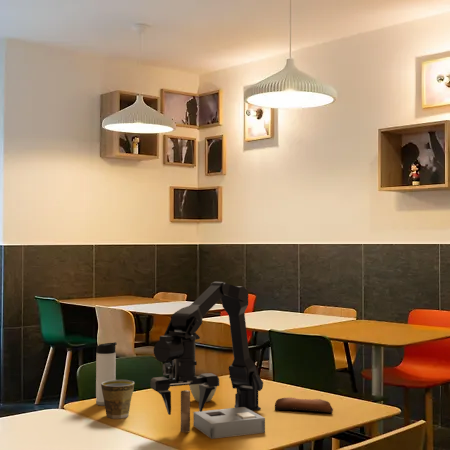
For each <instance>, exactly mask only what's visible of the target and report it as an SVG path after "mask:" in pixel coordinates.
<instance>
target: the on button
mask: <svg viewBox="0 0 450 450" xmlns="http://www.w3.org/2000/svg"><path fill="white" fill-rule="evenodd" d="M237 416H238V417H240V418H242V419H248V418H255V415H253V414H251V413H249V412H245V413H237Z"/></svg>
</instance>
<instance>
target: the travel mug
mask: <svg viewBox="0 0 450 450" xmlns="http://www.w3.org/2000/svg"><path fill="white" fill-rule="evenodd" d="M116 346H117V342H116V341H115V342H107V343H101V344H99V345H96V352H95V353H96V356H95V357H96V359H95V361H96V362H95V363H96V365H95V366H96V367H95V368H96V370H95V373H96V374H95V376H96V377H95V380H96V381H95V397H96V399H95V404H96V405H97V406H104V407H105V404H104V398H103V394H102V388H101V383H103V382H105V381H110V380H117V378H116V375H117V374H116V365H117V363H116V361H117V359H116V358H117V356H116V352H117V351H116Z"/></svg>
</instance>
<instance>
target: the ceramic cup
mask: <svg viewBox="0 0 450 450" xmlns="http://www.w3.org/2000/svg"><path fill="white" fill-rule="evenodd" d="M134 387H135V381H133V380H128V379H116V380H110V381H105V382H103V383H101V388H102V394H103V398H104V404H105V406H104V409H105V410H104V411H105V416H106V418H109V419H113V420H115V419H119V420H121V419H126V418H128V417H129V414H130V410H131V409H130V408H131V403H132V402H131V401H132V398H133V393H134Z"/></svg>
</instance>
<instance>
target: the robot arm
mask: <svg viewBox="0 0 450 450" xmlns="http://www.w3.org/2000/svg"><path fill="white" fill-rule="evenodd" d="M248 291H249V290H248V289H247V288H246V287H245V286H237V285H232V284H230V283H226V282H225V281H213V282H210V284H209V287H208V288H206V289H205V290H204V291H203V292H202V293H201V294H200V295H199V296H198V297H197V298H196V299H195V300H194V301H193V302H191V304H189V305H188V306H185V307H182V308H180V309H178V310H177V311H175V312H174V313H173V314H172V316H171V318H170V320H169V323H168V325H167V328H166V330H165V333H164V334H163V335H159V340H158V341H157V342H156V343H155V344H154V348H153V356H154V357H155V359H156V360H157V361H159V362H160V363H163V364H162V373H163V376H158V377H152V378H151V379H150V380H149V381H150V382H149V383H150V384H149V385H150V388H151V389H152V390H153V391H154V392H157V393H158V394H159V395H160V396H161V398H162V401H163V402H164V405H165V409H166V412H167V414H168V415H171V414H172V391H171V390H170V388H171V387H180V386H189V385H194V384H199V390H200V396H199V402H198V411H200V412H202V411H204V410H203V409H204V407H205V404H206V403H207V402H206V400H207V398H208V396H209V395H210V393H211V391H212V390H214V389H215V387H214V386H217V387H219V386H220V378H219V376H218V375H216V374H215V373H212V372H210V373H208V372H207V373H200V374H199V376H197V375H196V366H197V364H198V363H197V361H196V340H200V339H201V338H200V337H201V336H200V335H199V334H197V333H196V332H197V331H198V330H199V328H200V327H201V326H202V324H203V318H204V316H206V315H207V313H208V312H209V311H210V310H212V309H213V307H214V306H215V305H216V304H217V303H218V302H219V301H221V305H222V308H223V310H224V311H225V313H226V314H227V315H228V321H229V328H230V329H229V330H230V336H231V347H232V354H233V361H232V363H231V365H229V366H228V373H229V377H228V378H229V379H230V383H231V386H232V389H236V393H235V394H234V395H235V396H234V397H235V398H234V401H235V402H234V408H238V407H245V408H247V409H249V410H251V411H257V410H261V407H260V406H259V392H261V391H262V390H263V386H264V382H263V379H262V378H261V377H260V375H259V374H258V370H257V369H258V368H257V366H256V363H255V362H254V361H253V360H252V358H251V355H250V350H249V341H248V333H247V332H248V331H247V325H246V315H245V312H246V310H247V308H248V306H249V292H248ZM169 361H173V364H172V363H170V362H169ZM165 376H168V377H169V379H168V378H167V377H165ZM189 381H192V382H189Z"/></svg>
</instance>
